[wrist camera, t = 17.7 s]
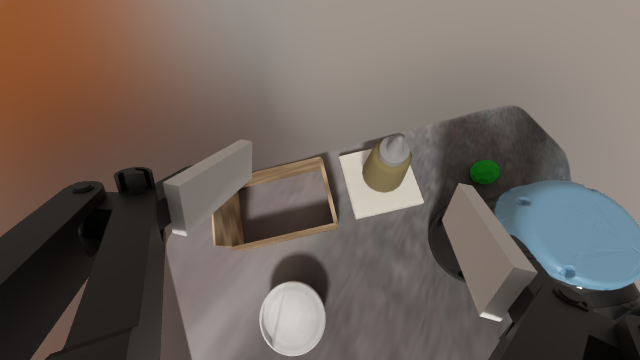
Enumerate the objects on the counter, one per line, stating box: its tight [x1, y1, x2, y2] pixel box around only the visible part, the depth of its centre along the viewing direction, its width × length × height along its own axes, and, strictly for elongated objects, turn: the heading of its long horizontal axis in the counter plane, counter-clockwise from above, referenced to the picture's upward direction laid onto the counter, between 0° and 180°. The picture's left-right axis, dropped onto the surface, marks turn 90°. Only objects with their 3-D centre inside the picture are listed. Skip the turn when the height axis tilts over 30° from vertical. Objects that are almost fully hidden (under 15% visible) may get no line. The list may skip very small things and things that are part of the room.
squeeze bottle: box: [362, 134, 412, 193], centre depth 42 cm, size 8×8×18 cm
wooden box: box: [212, 157, 338, 251], centre depth 46 cm, size 14×20×12 cm
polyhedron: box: [470, 160, 500, 185], centre depth 48 cm, size 5×5×5 cm
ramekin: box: [259, 281, 326, 356], centre depth 42 cm, size 11×11×5 cm
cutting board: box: [339, 149, 424, 219], centre depth 51 cm, size 14×14×1 cm
